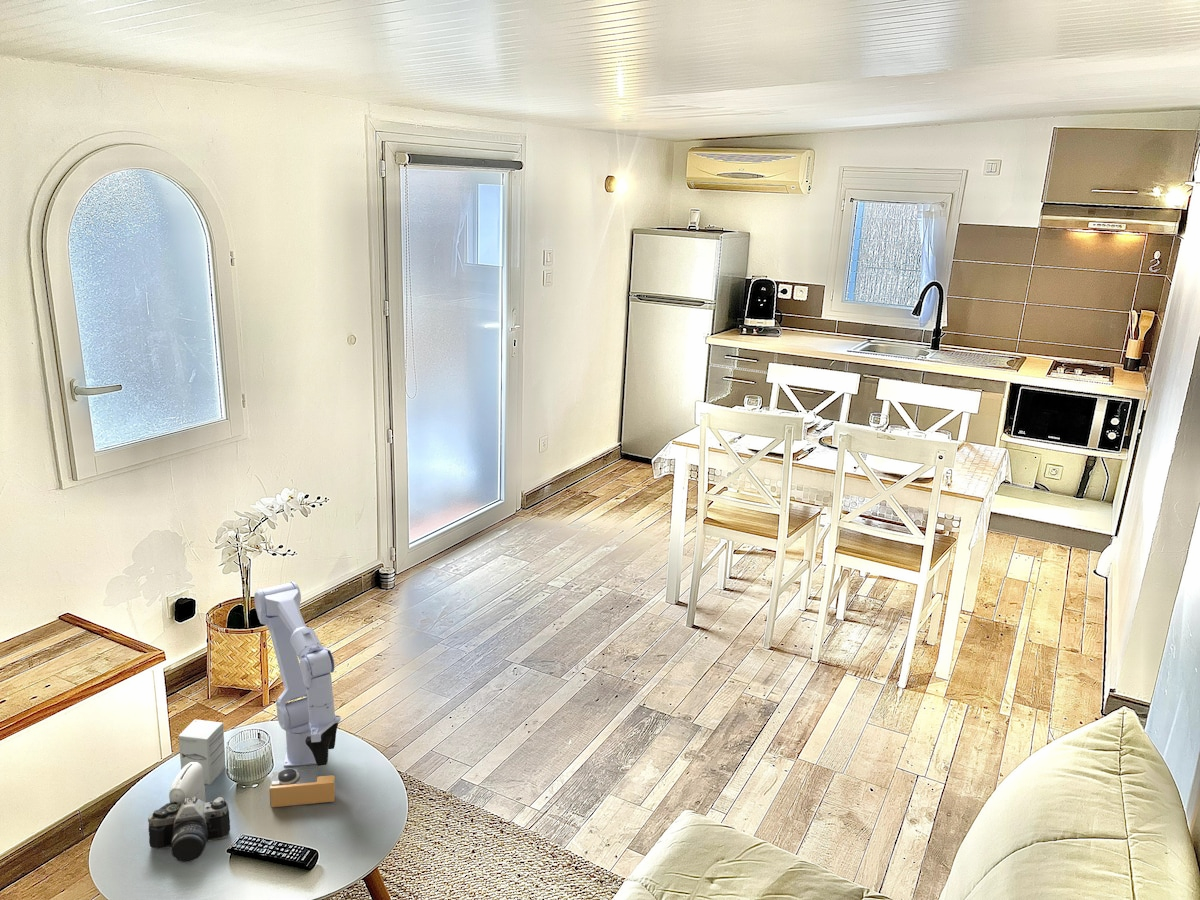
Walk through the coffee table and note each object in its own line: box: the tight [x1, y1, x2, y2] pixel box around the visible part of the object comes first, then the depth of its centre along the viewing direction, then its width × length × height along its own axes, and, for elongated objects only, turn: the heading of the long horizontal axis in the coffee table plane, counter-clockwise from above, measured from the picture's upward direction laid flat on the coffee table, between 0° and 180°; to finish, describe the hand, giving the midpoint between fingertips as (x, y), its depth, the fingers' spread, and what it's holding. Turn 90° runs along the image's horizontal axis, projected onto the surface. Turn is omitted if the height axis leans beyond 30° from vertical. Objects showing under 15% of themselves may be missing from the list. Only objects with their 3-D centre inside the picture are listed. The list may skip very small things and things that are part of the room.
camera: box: [147, 796, 231, 863], centre depth 185 cm, size 16×10×10 cm, turn 109°
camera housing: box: [269, 768, 319, 807], centre depth 204 cm, size 6×10×6 cm, turn 103°
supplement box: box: [178, 718, 226, 786], centre depth 209 cm, size 7×7×13 cm
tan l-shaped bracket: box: [269, 774, 336, 808], centre depth 202 cm, size 3×14×5 cm, turn 103°
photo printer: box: [168, 762, 207, 805], centre depth 194 cm, size 10×4×12 cm, turn 2°
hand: (326, 756), depth 205 cm, fingers open, 7 cm apart
